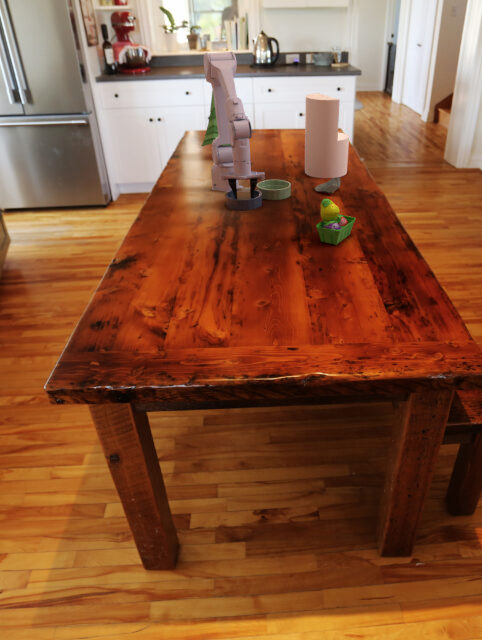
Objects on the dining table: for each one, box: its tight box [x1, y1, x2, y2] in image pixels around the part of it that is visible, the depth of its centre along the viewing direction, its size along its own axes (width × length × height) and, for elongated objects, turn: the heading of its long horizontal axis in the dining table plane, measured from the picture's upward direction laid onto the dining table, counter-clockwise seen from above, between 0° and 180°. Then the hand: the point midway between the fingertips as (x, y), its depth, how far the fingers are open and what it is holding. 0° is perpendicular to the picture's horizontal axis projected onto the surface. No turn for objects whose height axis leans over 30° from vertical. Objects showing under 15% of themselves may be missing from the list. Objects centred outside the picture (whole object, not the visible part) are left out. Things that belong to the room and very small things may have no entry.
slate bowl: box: [225, 189, 263, 211], centre depth 166 cm, size 12×12×4 cm
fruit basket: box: [316, 198, 356, 246], centre depth 140 cm, size 11×9×11 cm
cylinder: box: [304, 92, 350, 179], centre depth 191 cm, size 17×17×28 cm
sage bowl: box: [256, 179, 292, 201], centre depth 174 cm, size 12×12×4 cm
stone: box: [314, 177, 341, 195], centre depth 177 cm, size 11×4×10 cm
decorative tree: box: [201, 89, 231, 147], centre depth 210 cm, size 14×16×30 cm
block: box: [237, 186, 251, 200], centre depth 165 cm, size 4×4×5 cm
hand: (244, 201), depth 166 cm, fingers closed on block, 4 cm apart
